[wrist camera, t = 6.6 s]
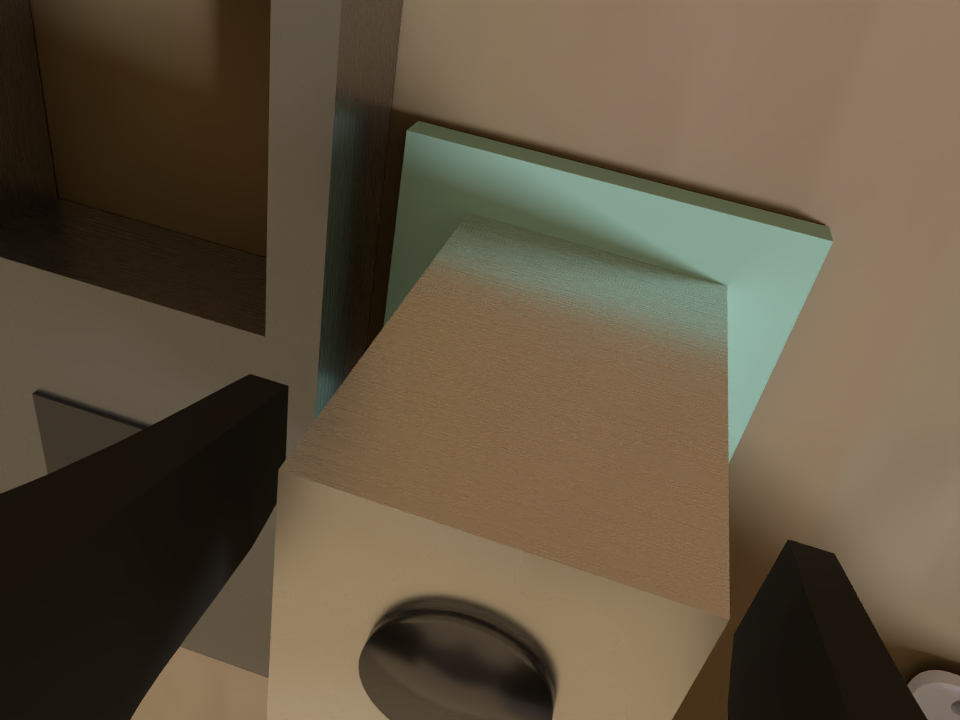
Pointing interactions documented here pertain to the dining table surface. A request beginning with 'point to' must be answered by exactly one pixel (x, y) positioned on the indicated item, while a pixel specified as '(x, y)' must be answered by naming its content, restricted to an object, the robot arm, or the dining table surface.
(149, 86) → the dining table surface
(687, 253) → the mat
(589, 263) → the cube with screw head
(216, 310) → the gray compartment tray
